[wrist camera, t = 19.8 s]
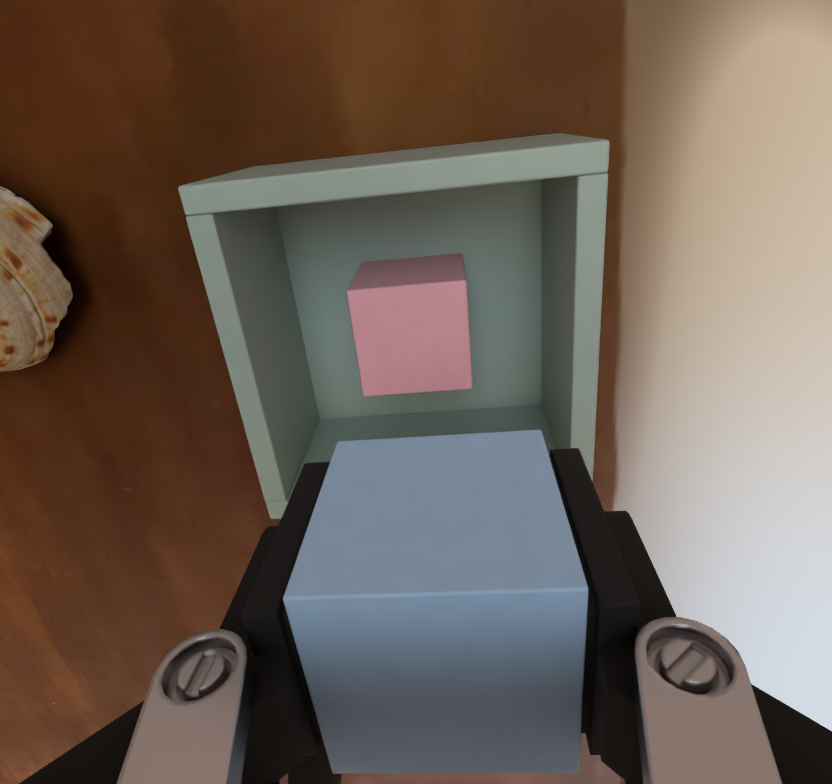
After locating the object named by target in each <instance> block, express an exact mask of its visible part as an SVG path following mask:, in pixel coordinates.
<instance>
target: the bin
mask: <svg viewBox="0 0 832 784" xmlns="http://www.w3.org/2000/svg"><path fill="white" fill-rule="evenodd" d="M608 163H609V141H608V140H604V139H597V138H590V137H583V136H576V135H569V134H562V133H555V134H546V135H536V136H527V137H518V138H509V139H500V140H491V141H482V142H473V143H464V144H455V145H445V146H436V147H427V148H418V149H409V150H400V151H391V152H382V153H373V154H363V155H354V156H345V157H336V158H327V159H318V160H309V161H300V162H291V163H282V164H272V165H263V166H254V167H250V168H246V169H242V170H239V171H235V172H231V173H227V174H223V175H220V176H216V177H212V178H208V179H204V180H200V181H197V182H193V183H189V184H185V185H181V186H179V187H178V190H179V194H180V197H181V201H182V204H183V208H184V211H185V214H186V215H188V216H187V217H186V220H187V224H188V228H189V231H190V235H191V238H192V242H193V245H194V249H195V253H196V256H197V260H198V263H199V267H200V270H201V274H202V278H203V281H204V285H205V288H206V292H207V295H208V299H209V303H210V306H211V310H212V313H213V317H214V321H215V324H216V328H217V331H218V335H219V338H220V342H221V346H222V349H223V353H224V356H225V360H226V363H227V367H228V371H229V374H230V378H231V381H232V385H233V388H234V392H235V396H236V399H237V403H238V406H239V410H240V413H241V417H242V421H243V424H244V428H245V431H246V435H247V438H248V442H249V446H250V449H251V453H252V456H253V460H254V464H255V467H256V471H257V474H258V478H259V481H260V485H261V489H262V492H263V496H264V499H265V502H266V505H267V509H268V512H269V516H270V518H271V519H281V518H282V516H283V513H284V511H285V509H286V506H287V504H288V502H289V499H290V497H291V494H292V492H293V490H294V487H295V485H296V483H297V480H298V478H299V475H300V473H301V471H302V468H303V466H304V464H305V463H314V462H330V461H331V458H332V455H333V452H334V450H335V447H336V444H337V442H339V441H355V440H372V439H389V438H406V437H423V436H440V435H457V434H474V433H491V432H508V431H525V430H541V431H542V434H543V437H544V441H545V444H546V447H547V451H548V454H550V450H551V449H567V448H579V450H580V452H581V455H582V457H583V460H584V462H585V465H586V467H587V470H588V472H589V475H590V478H591V480H592V482H593V464H594V444H595V424H596V404H597V384H598V365H599V345H600V325H601V305H602V285H603V266H604V246H605V226H606V206H607V186H608V174H607V173H606V172H607V171H608ZM457 253H462V254H463V260H464V268H465V275H466V283H467V299H468V315H469V331H470V347H471V363H472V379H473V388H472V389H464V390H450V391H435V392H421V393H407V394H393V395H379V396H363V392H362V386H361V380H360V374H359V368H358V361H357V355H356V349H355V343H354V337H353V331H352V325H351V319H350V312H349V306H348V300H347V294H346V291H347V289H348V287H349V285H350V284H351V282H352V280H353V278H354V276H355V275H356V273H357V271H358V269H359V267H360V266H361V264H362V263H363V262H371V261H382V260H393V259H403V258H414V257H425V256H436V255H447V254H457Z"/></svg>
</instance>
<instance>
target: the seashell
mask: <svg viewBox="0 0 832 784" xmlns="http://www.w3.org/2000/svg"><path fill="white" fill-rule="evenodd" d="M52 227H53V225H52V223H51V222H50V221H49V220H48V219H47V218H45V217H44V216H43V215H42V214H41V213H40V212H39V211H38V210H37V209H36V208H34V207H33V206H32V205H31V204H30V203H28V202H27V201H25V200H24V199H23V198H20V197H16V196H15V194H14V193H12V192H11V191H9V190H8V189H5V188H3V187H1V186H0V371H16V370H20V369H23V368H26V367H29V366H33V365H35V364H38V363H40V362H42V361H43V360H45V359H46V358H47V357H48V356H49V352H50V350H51V349H52V347H53V343H54V340H55V329H56V328H57V327H58V326H59V323H60V320H61V319H62V318H64V317H65V316H66V315H67V312H68V308H67V306H68V305H69V304H70V302H71V300H72V297H73V293H72V290H71V284H70V282H69V281H68V280H67V279H66V278H65V277H64V275H63V273H62V271H61V270H60V268H59V267H58V266H57V265H56V264H55V263H54V262H53V260H52V259H51V258H50V256H49V255H48V254H47V252H46V251H45V249H44V247H43V246H42V243H43V241H44V240H45V239H46V238H47V237H48V236H49V235H50V234H51V233H52V230H51V229H52Z"/></svg>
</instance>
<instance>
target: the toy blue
mask: <svg viewBox="0 0 832 784" xmlns="http://www.w3.org/2000/svg"><path fill="white" fill-rule="evenodd" d="M283 601H284V605H285V608H286V612H287V615H288V619H289V622H290V626H291V629H292V633H293V636H294V640H295V643H296V647H297V650H298V654H299V657H300V661H301V665H302V668H303V672H304V675H305V679H306V682H307V686H308V689H309V693H310V696H311V700H312V703H313V707H314V710H315V714H316V717H317V721H318V724H319V728H320V731H321V735H322V738H323V742H324V745H325V749H326V752H327V756H328V759H329V763H330V766H331V770H332V773H334V774H532V773H578V772H579V761H580V742H581V723H582V704H583V685H584V665H585V646H586V627H587V608H588V586H587V582H586V579H585V575H584V572H583V569H582V565H581V562H580V559H579V555H578V552H577V549H576V545H575V542H574V538H573V535H572V532H571V528H570V525H569V522H568V518H567V515H566V511H565V508H564V505H563V501H562V498H561V495H560V491H559V488H558V485H557V481H556V478H555V474H554V471H553V468H552V464H551V461H550V458H549V454H548V451H547V447H546V444H545V441H544V437H543V434H542V431H541V430H525V431H508V432H491V433H474V434H457V435H440V436H423V437H406V438H389V439H372V440H355V441H339V442H337V444H336V447H335V450H334V452H333V455H332V458H331V461H330V464H329V467H328V470H327V473H326V475H325V478H324V481H323V484H322V487H321V490H320V493H319V496H318V498H317V501H316V504H315V507H314V510H313V513H312V516H311V519H310V522H309V524H308V527H307V530H306V533H305V536H304V539H303V542H302V545H301V547H300V550H299V553H298V556H297V559H296V562H295V565H294V568H293V571H292V573H291V576H290V579H289V582H288V585H287V588H286V591H285V594H284V596H283Z"/></svg>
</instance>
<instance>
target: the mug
mask: <svg viewBox="0 0 832 784" xmlns="http://www.w3.org/2000/svg"><path fill="white" fill-rule="evenodd" d="M341 776H342V774H334V773H332V770H331V766H330V763H329V759H328V756H327V752H326V749H325V745H324V742H323V738H322V740H321V745H320V749H319V754H318V756H302V757H301V761H300V763H299V764H298V765H296V766H295V767H294V768H293V769H292V770H291V771H289V772H288V784H340V782H341Z"/></svg>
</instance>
